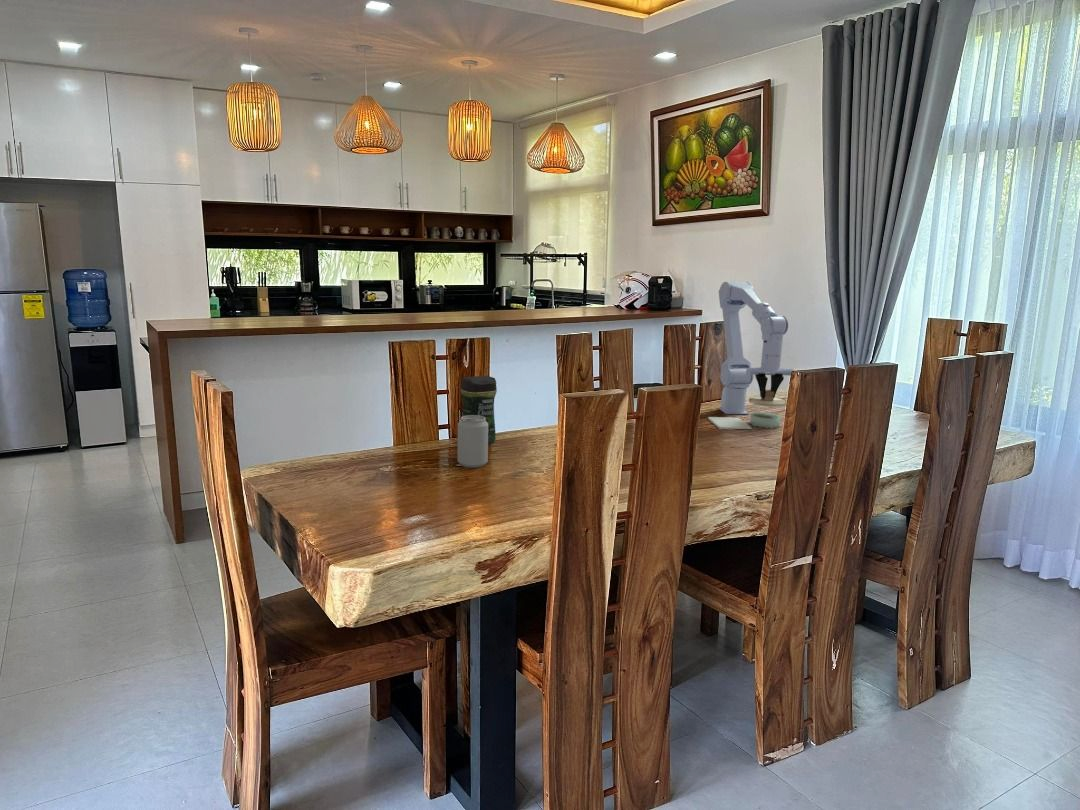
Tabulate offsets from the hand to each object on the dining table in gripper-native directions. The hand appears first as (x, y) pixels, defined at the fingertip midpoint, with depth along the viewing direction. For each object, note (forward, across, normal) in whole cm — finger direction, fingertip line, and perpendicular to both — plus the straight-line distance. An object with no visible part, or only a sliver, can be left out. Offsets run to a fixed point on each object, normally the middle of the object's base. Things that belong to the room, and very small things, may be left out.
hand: (767, 397), depth 231 cm
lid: (+2, 0, 0) cm, 2 cm away
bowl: (+9, 0, 0) cm, 9 cm away
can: (+9, -90, -48) cm, 103 cm away
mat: (+9, -12, 0) cm, 14 cm away
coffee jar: (+9, -90, -28) cm, 95 cm away
